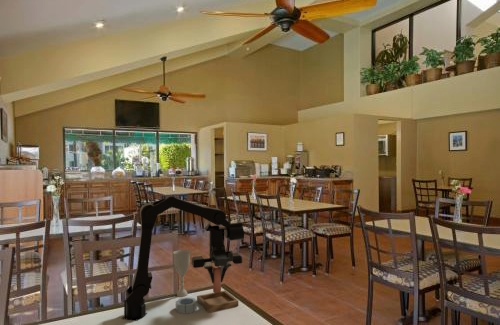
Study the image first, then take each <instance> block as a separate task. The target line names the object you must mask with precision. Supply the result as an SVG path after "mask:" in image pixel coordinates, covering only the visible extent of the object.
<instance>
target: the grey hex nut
mask: <svg viewBox="0 0 500 325" xmlns="http://www.w3.org/2000/svg"><path fill="white" fill-rule="evenodd" d="M197 308H198V301H197V298H195V297H188V296H185V297H180V298H178V299H177V300H176V301H175V311H176V312H177V313H178V314H184V315H185V314H191V313H194V312H195V311H196V310H197Z"/></svg>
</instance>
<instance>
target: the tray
mask: <svg viewBox="0 0 500 325" xmlns="http://www.w3.org/2000/svg"><path fill="white" fill-rule="evenodd" d="M196 300H197V303H199V305H200V306H202V308H203V309H204V310H205V311H206V312H207V314H208V313H213V312H218V311H223V310H226V309H230V308H234V307H235V308H236V307H239V300H238V299H237V298H236V297H235V296H233V295H232V294H230V293H229V292H228V291H227V290H221V292H220V293H214V292H211V293H210V292H209V293H207V294H206V293H205V294H200V295H197V296H196Z"/></svg>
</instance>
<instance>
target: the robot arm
mask: <svg viewBox="0 0 500 325" xmlns="http://www.w3.org/2000/svg"><path fill="white" fill-rule="evenodd" d="M172 208H174V209H177V210H180V211H183V212H186V213H189V214H193V215H195V216H198V217H201V218H202V219H204V220H206V221H209V222H210V223H211V224H214V225H211V224H210V223H208V224H207V225H205V227H204V228H203V230H205V231H206V232H209V238H208V239H209V243H208V245H209V247H208V248H209V254H208V255H209V256H208V257H206V258H204V257H203V255H197V256H192V257H191V265H192V267H193V268H194V269H197V268H204V269H205V270H207V272H208V275H209V278H210V281H211V284H213V283H214V278H213V267H221V283H223V281H224V278H225V275H226V273H227V270H228V269H229V268H230V267H232V264H231V262H232V263H233V264H234V265H239V264H242V263H243V256H241V254H239V253H238V252H233V251H232V250H231V251H230V250H227V251H226V246H225V239H227V241H229V242H230V241H243V240H244V238H245V230H244V227H243V226H244V225H243V222H241V221H237V222H231V223H230V222H229V221H228V220H227V215H226V212H225V211H223V210H222V209H219V208H217V207H209V206H202V205H199V204H196V203H194V202H191V201H187V200H185V199H181V198H178V197H175V196H173V195H167V196H166V197H163V198H162V199H159V200H157V201H155V202H151V203H150V202H148V203H144V204H143V205H142V206H140V209H139V215H140V239H139V248H138V256H137V265H136V269H135V272H134V274H133V277H132V282H131V285H130V286H129V287H127V289H126V290H125V299H124V300H123V316H122V317H121V318H120V319H121V320H126V321H134V322H138V321H139V320H141V319H143V318H144V317H145V316H146V315H148V312H146V311H147V310H146V307H147V306H146V302H145V297H146V296H147V295H148V294H149V292H150V290H151V289H152V281H153V274H152V272H151V271H149V263H150V253H151V246H152V237H153V230H154V227H155V224H156V222H157V218H158V216H159V215H161V214H162V213H165V212H166V211H168V210H169V209H172ZM220 226H221V227H220ZM213 264H214V266H213Z"/></svg>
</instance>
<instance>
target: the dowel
mask: <svg viewBox="0 0 500 325" xmlns="http://www.w3.org/2000/svg"><path fill="white" fill-rule="evenodd" d="M212 267H213V278H214V283H212V290H213V291H212V293H220V292H221V291H222V282H221V266H219V267H216V266H212Z"/></svg>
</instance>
